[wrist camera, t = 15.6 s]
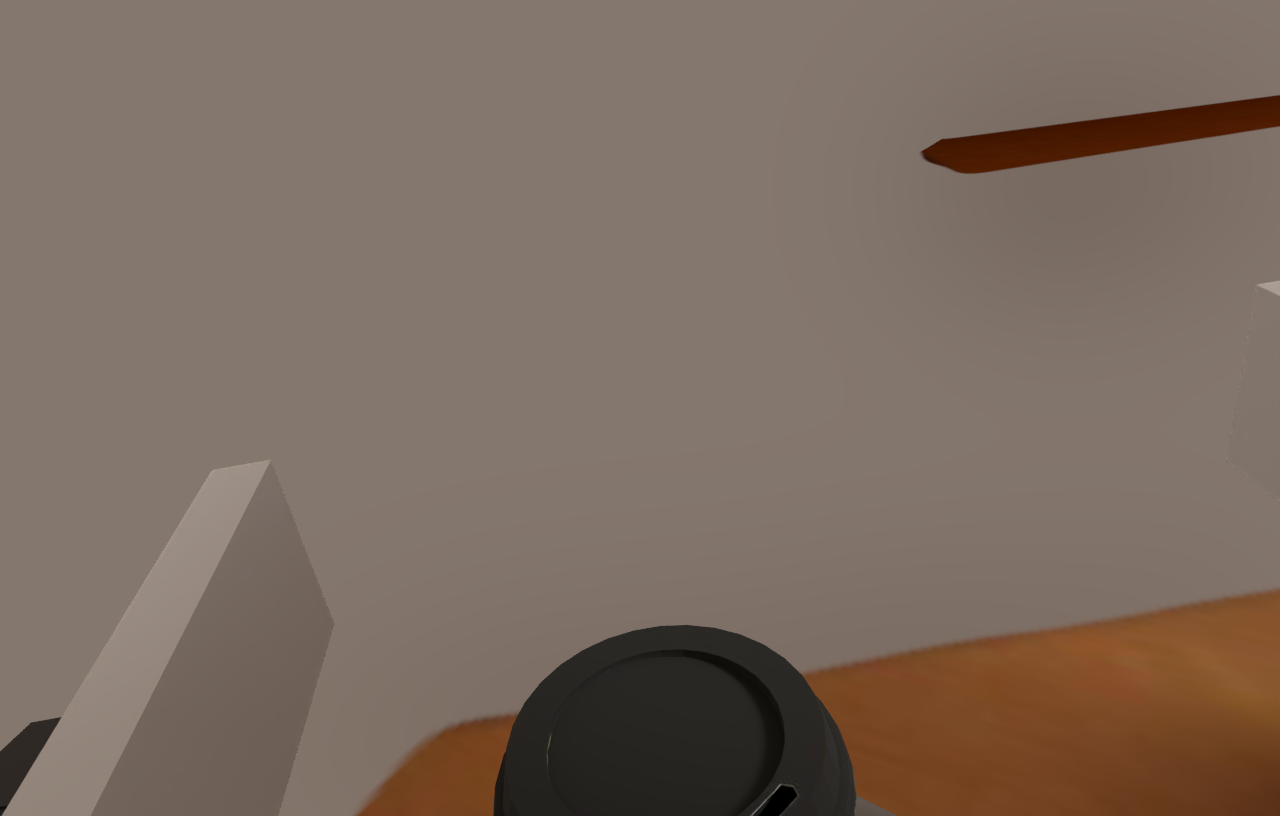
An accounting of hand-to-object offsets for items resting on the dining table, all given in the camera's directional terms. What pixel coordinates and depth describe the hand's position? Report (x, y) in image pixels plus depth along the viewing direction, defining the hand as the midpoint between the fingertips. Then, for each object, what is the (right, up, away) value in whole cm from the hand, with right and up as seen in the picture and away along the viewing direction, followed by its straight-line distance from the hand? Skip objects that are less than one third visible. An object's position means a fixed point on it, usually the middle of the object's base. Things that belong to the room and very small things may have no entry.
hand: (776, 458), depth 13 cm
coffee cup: (+1, -21, +19) cm, 28 cm away
